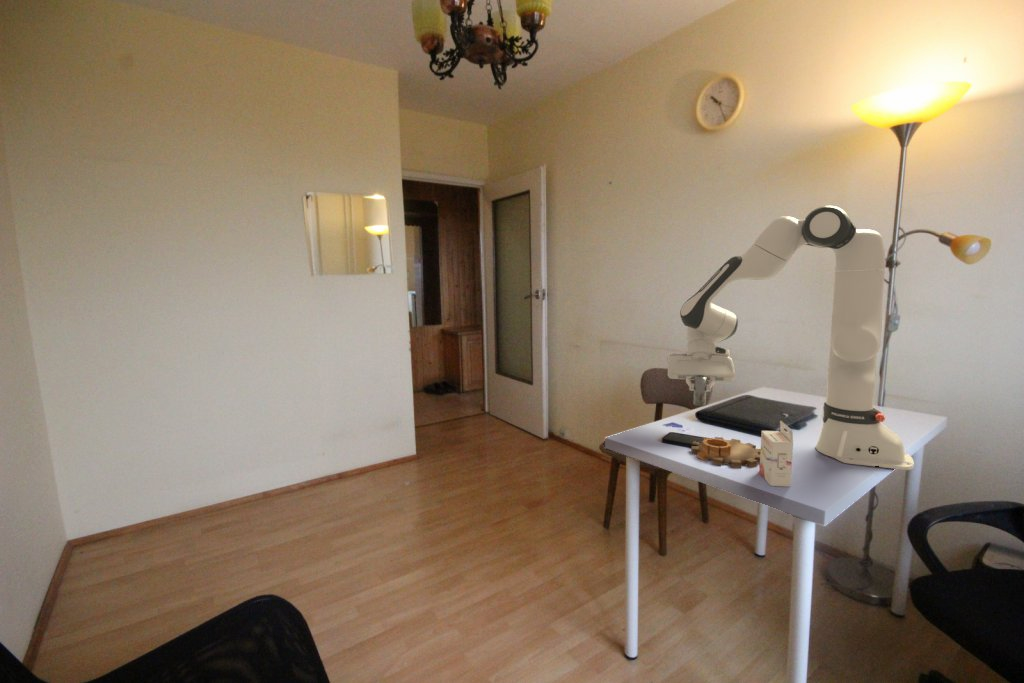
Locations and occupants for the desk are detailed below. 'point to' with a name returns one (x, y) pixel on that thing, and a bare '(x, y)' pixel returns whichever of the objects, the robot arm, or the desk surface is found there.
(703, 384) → the pin
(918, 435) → the desk surface
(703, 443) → the sprocket
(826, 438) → the robot arm
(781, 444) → the ink cartridge box
